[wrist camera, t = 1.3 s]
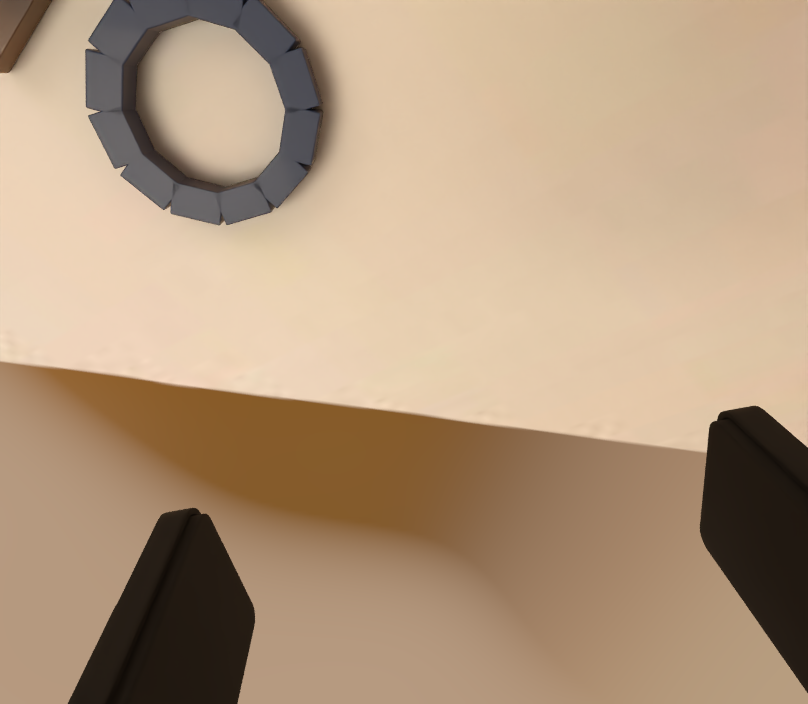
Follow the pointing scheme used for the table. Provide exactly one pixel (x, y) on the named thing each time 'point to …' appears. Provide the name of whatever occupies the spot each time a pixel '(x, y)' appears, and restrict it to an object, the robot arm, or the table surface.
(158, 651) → the robot arm
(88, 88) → the navy ring
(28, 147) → the table surface
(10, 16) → the ring stacking peg stand
